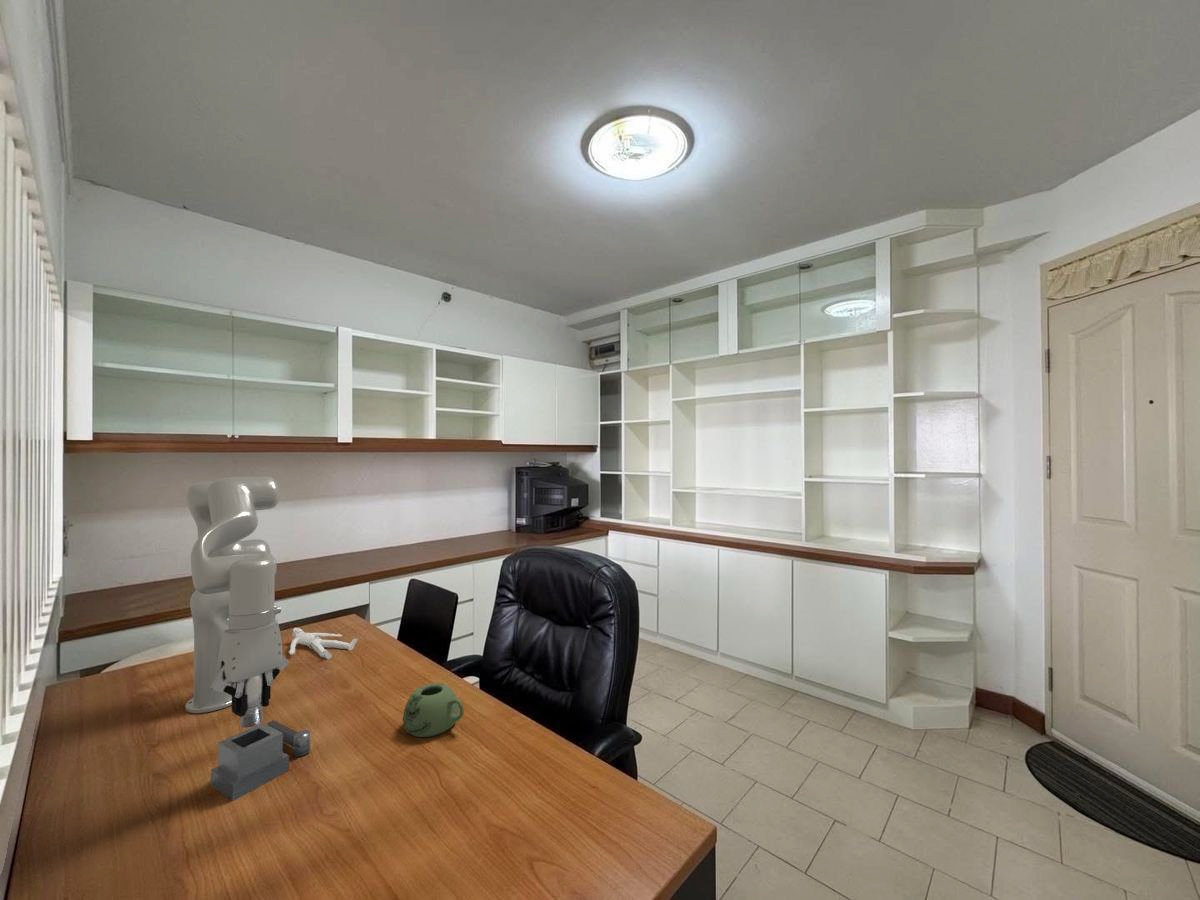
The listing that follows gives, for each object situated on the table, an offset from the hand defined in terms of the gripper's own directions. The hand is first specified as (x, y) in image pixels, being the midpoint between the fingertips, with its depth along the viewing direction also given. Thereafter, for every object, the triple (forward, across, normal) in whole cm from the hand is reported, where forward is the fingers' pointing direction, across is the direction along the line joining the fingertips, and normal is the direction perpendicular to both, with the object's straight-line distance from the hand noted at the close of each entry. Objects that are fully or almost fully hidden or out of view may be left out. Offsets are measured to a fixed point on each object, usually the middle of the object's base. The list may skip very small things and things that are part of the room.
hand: (251, 708), depth 95 cm
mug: (+14, -31, +19) cm, 39 cm away
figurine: (+14, -45, -56) cm, 73 cm away
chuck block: (+14, 0, 0) cm, 14 cm away
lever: (+14, -10, -6) cm, 18 cm away
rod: (+3, 0, 0) cm, 3 cm away
